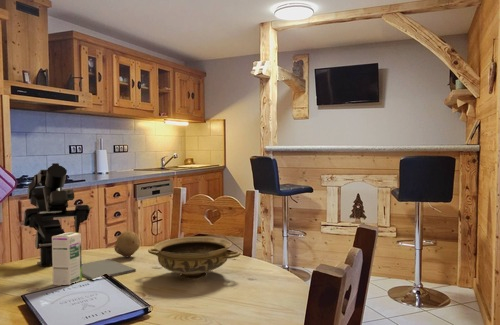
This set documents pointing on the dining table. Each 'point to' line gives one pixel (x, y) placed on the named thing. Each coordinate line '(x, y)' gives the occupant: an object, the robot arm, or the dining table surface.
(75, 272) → the syrup box
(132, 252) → the natural sponge
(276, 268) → the dining table surface
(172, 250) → the ceramic bowl
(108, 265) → the rubber mat
